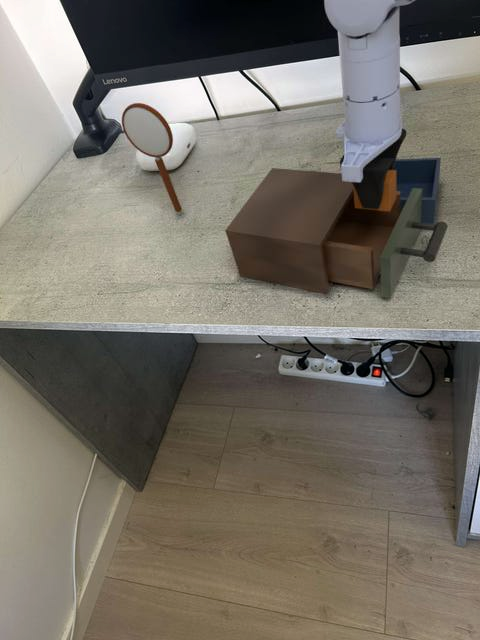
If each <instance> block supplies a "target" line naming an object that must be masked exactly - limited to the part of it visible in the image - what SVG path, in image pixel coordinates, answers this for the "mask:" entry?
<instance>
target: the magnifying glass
mask: <svg viewBox="0 0 480 640" xmlns="http://www.w3.org/2000/svg"><path fill="white" fill-rule="evenodd" d="M168 124H169V123H168V121H167V120H166V118H165V117H164V116H163V115H162V114H161V113H160V112H159V111H158V110H157V109H155V108H154V107H152V106H151V105H149V104H147V103H146V104H145V103H142V102H135V103H132V104H129V105H128V106H126V107H125V109H124V110H123V112H122V116H121V125H122V131H123V132H124V135H125V137H126V138H127V140H128V141H129V143H131V145H132V146H133V147H134V148H135V149H136V150H137V149H138V150H139V151H140V152H142V153H143V154H145V155H148V156H150V157H155V158H156V159H155V162H156V165H157V167H158V169H159V171H158V172H159V175H160V177H161V179H162V181H163V184H164V186H165V189H166V192H167V194H168V197H169V199H170V202H171V204H172V206H173V209H174V211H175V212H176V213H177V215H178V216H181V215H182V214H183V211H182V208H183V207H182V206H181V205H182V204H181V203H180V201H179V198H178V196H177V192H176V190H175V188H174V185H173V182H172V180H171V177H170V175H169V171H168V170H166V167H165V165H164V162H163V159H162V156H165V155H166V154H168V153H169V151H170V150H171V148H172V144H173V136H172V132H171V129H170V126H169V125H168Z"/></svg>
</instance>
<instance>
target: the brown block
mask: <svg viewBox="0 0 480 640" xmlns="http://www.w3.org/2000/svg"><path fill="white" fill-rule="evenodd" d="M353 190H354V203H355V208H360V209H369V210H379V211H388V212H390V210H391V208H392V206H393V204H394V202H395V200H396V170H388V171H387V174H386V177H385V182H384V188H383V196H382V201H381V204H380V207H379V209H371V208H363V207H362V205H361V203H360V200H359V198H358V195H357V192H356V190H355V188H354V186H353Z"/></svg>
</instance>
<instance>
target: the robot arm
mask: <svg viewBox="0 0 480 640" xmlns="http://www.w3.org/2000/svg"><path fill="white" fill-rule="evenodd" d="M415 1H416V0H323V3H324V11H325V14H326V17H327V19H328V21H329V22H330V24H331V25H332V26H333V28H334V29H335V30H336V31H337V38H338V39H337V40H338V51H339V52H338V54H339V65H340V76H341V78H340V79H341V87H342V88H341V89H342V98H343V99H342V100H343V110H344V111H343V112H344V122H345V123H341V124H340V125H339V126H338V128H337V129H336V131H335V135H336V138H338V139H343V141H344V142H343V143H344V147H343V148H344V151H343V152H344V153H343V155H342V157H341V158H340V160H339V167H340V171H341V172H340V173H342V181H347V182H352V184H353V186H354V188H355V190H356V192H357V195H358V198H359V200H360V203H361V205H362V207H363V208H371V209H379V207H380V204H381V201H382V196H383V188H384V182H385V177H386V174H387V171H388V170H393V169H394V165H395V161H396V159H397V157H398V154H399V151H400V148H401V147H402V144H403V143H404V141H405V138H406V137H407V130H406V129H405V128H403V124H402V117H401V112H402V111H401V110H402V96H401V37H400V6H406V5H410V4H412V3H414V2H415Z"/></svg>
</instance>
